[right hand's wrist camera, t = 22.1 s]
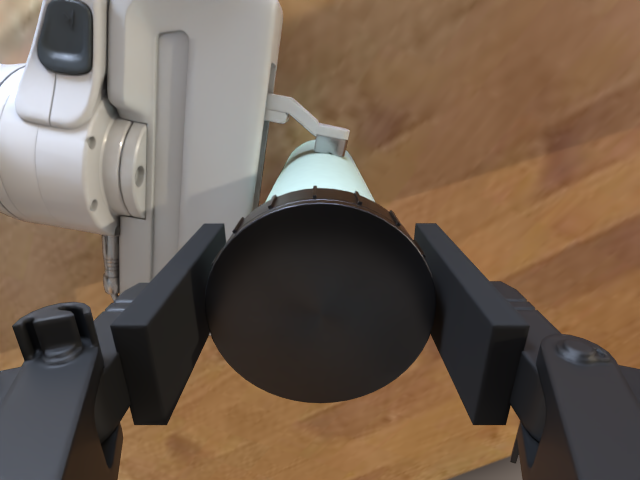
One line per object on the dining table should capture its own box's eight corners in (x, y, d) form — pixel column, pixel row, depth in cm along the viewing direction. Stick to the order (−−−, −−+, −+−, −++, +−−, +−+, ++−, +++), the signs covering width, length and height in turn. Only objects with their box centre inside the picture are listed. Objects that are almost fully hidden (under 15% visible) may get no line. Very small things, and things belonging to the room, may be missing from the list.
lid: (419, 170, 10) (436, 183, 9) (427, 357, 13) (441, 393, 11) (194, 201, 11) (174, 218, 9) (242, 378, 13) (232, 415, 12)
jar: (315, 123, 27) (306, 167, 10) (371, 172, 28) (451, 286, 11) (269, 181, 28) (192, 307, 11) (324, 225, 30) (330, 397, 13)
